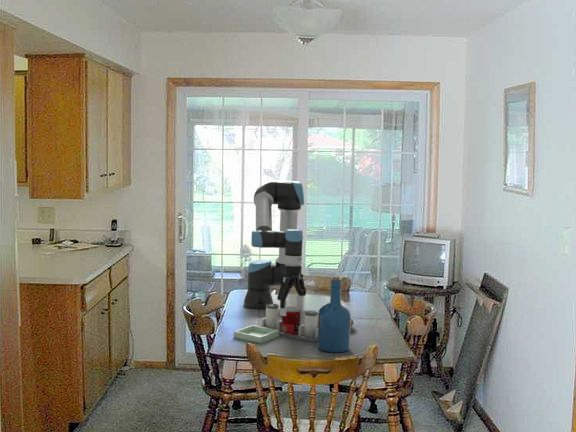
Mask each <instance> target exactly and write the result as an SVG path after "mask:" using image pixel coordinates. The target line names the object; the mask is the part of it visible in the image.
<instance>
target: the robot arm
mask: <svg viewBox="0 0 576 432" xmlns="http://www.w3.org/2000/svg"><path fill="white" fill-rule="evenodd" d="M303 188H304V187H303V183H302V182H301V181H293V180H269V181H266V182H264V183H262V184H261V185H260V186H259V187H258V188H257V189H256V191H255V192H254V195H253V204H254V206H255V230H252V231H251V236H250V237H251V242H250V243H251V246H252V247H253V248H260V249H262V248H263V249H264V248H265V249H267V248H271V249H272V248H274V249H276V248H277V249H278V257H277V258H276V259H275V262H272V260H271V259H258V260H253V261H251V262H249V264H248V267H247V290H246V293H245V297H244V299H243V307H245V308H248V309H253V310H254V309H255V310H266V305H267V304H274V300H273V296H272V292H271V286H272V287H279V290H278V293H277V297H276V299H277V301H279V308H280V309H279V316H281V317H282V316H286V309H287V307H288V306H287V305H288V304H287V303H288V301H287V298H288V295H289V293H290V291H291V289H292V288H293V287H294V289H295V291H296V294H297V295H296V307H297V308H300V310H301V312H302V311H303V307H304V306H303V305H304V304H303V303H304V296H306V294H307V290H306V286H305V285H306V284H305V280H304V274H303V273H302V264H303V263H302V260H303V241H304V240H303V239H304V235H303V233H304V232H303V230H302V229H298V212H299V211H300V210H302V209H301V207H302V206H304V205H305V195H304V194H305V193H304V189H303ZM273 205H277V209H278V210H279V212H280V219H279V220H280V221H279V230H273V217H272V216H273V215H272V214H273V213H272V212H273V210H272V206H273Z"/></svg>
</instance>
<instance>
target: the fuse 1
mask: <svg viewBox="0 0 576 432" xmlns="http://www.w3.org/2000/svg"><path fill="white" fill-rule="evenodd" d="M279 308H280V304H277V303H273V304H267V305H266V309H265V317H266V328H270V329H275V330H277V322H278V321H279V313H280V309H279Z"/></svg>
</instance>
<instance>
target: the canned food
mask: <svg viewBox="0 0 576 432" xmlns="http://www.w3.org/2000/svg"><path fill="white" fill-rule="evenodd" d="M301 312H302V311H301V310H300V308H297V306H287V309H286V316H282V315H281V320H282V331H281V332H283V333H288V334H293V335H298V331H299V326H300V325H301Z"/></svg>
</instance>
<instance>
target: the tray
mask: <svg viewBox="0 0 576 432" xmlns="http://www.w3.org/2000/svg"><path fill="white" fill-rule="evenodd" d="M232 335H233V339H235V340H241V341H244V342H250V343H254V344H259V345H262V344H264V343H267V342H269V341H271V340H274V339H277V338H278V337H280V336H279V330H275V329H270V328H265V327H261V326H259V325H254V324H250V325H248V326H246V327H242V328H240V329H238V330H234V331H233V334H232Z"/></svg>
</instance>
